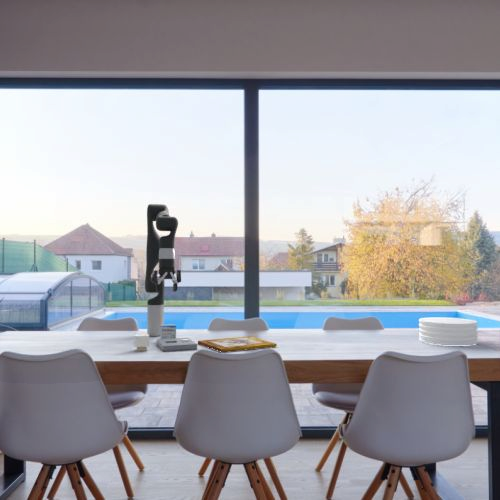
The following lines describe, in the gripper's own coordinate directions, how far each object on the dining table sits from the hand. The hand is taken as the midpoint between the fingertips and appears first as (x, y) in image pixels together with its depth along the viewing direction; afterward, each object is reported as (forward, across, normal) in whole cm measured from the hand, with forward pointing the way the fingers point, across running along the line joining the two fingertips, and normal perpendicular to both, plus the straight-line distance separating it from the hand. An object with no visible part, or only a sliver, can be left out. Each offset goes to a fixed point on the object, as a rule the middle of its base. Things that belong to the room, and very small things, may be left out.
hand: (166, 291), depth 224 cm
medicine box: (+27, -10, -19) cm, 35 cm away
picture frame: (+28, -32, +12) cm, 44 cm away
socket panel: (+27, -6, -2) cm, 28 cm away
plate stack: (+28, -126, +70) cm, 146 cm away
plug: (+27, +11, -4) cm, 29 cm away
